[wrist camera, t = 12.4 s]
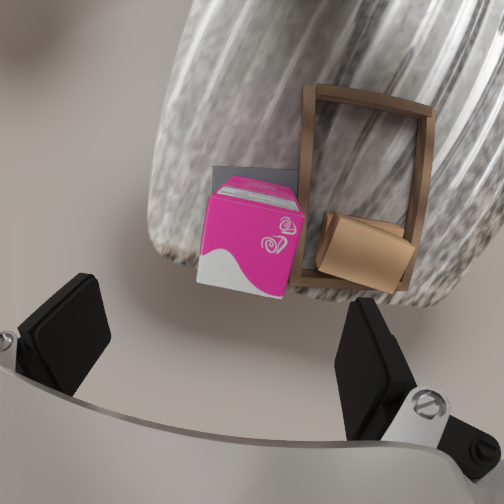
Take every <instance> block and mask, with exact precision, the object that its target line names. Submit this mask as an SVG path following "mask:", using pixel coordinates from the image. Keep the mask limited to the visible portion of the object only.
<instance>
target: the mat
mask: <svg viewBox="0 0 504 504" xmlns="http://www.w3.org/2000/svg"><path fill="white" fill-rule="evenodd" d="M233 175H238V176H243V177H248V178H253V179H258V180H262V181H267V182H271V183H275V184H280V185H284V186H288V187H291V189H292V191H293V193H294V195H295V198H297V185H298V170H287V169H272V168H254V167H230V166H213V186H212V193H214V192H215V191H216V190H217V189H218V188H219V187H221V186H222V185H223V184H224V183H225V182H226V181H227V180H229V179H230V178H231V177H232V176H233Z"/></svg>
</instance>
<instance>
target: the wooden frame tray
mask: <svg viewBox="0 0 504 504" xmlns="http://www.w3.org/2000/svg"><path fill="white" fill-rule="evenodd" d="M315 100H322V101H330V102H337V103H344V104H351V105H357V106H363V107H368V108H374V109H379V110H384V111H388V112H393V113H397V114H402V115H406V116H410V117H414V118H418V126H417V143H416V155H415V165H414V175H413V183H412V190H411V198H410V204H409V211H408V217H407V222H406V228H405V233H404V238H403V239H405V240H407V241H408V242H409V243H410V244H411V245H413V246H414V247H415V250H414V252H413V254H412V256H411V259H410V261H409V263H408V265H407V267H406V269H405V271H404V273H403V275H402V277H401V279H400V281H399V283H398V285H397V287H396V289H395V290H394V291H407V290H408V287H409V283H410V280H411V276H412V272H413V268H414V264H415V260H416V256H417V252H418V247H419V243H420V238H421V233H422V228H423V223H424V218H425V212H426V206H427V200H428V193H429V186H430V179H431V170H432V161H433V149H434V135H435V110H433V109H432V107H430V106H427V105H424V104H420V103H417V102H413V101H409V100H405V99H401V98H397V97H393V96H389V95H384V94H380V93H375V92H370V91H365V90H359V89H353V88H347V87H341V86H334V85H327V84H319V83H317V85H316V86H315V85H306V84H304V86H303V89H302V112H301V132H300V150H299V165H298V185H297V198H296V199H297V201H298V203H299V206H300V208H301V210H302V212H303V214H304V216H305V219H304V223H303V227H302V230H301V234H300V238H299V242H298V245H297V249H296V253H295V257H294V260H293V264H292V268H291V271H290V275H289V285H290V286H303V287H321V288H340V289H361V290H377V289H374V288H371V287H368V286H365V285H362V284H359V283H355V282H352V281H349V280H346V279H343V278H340V277H337V276H334V275H331V274H327V273H324V272H321V271H319V270H311V269H302V263H303V254H304V245H305V236H306V226H307V216H308V205H309V194H310V182H311V169H312V155H313V140H314V122H315Z"/></svg>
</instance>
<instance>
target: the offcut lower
mask: <svg viewBox="0 0 504 504" xmlns="http://www.w3.org/2000/svg"><path fill="white" fill-rule="evenodd" d="M333 214H334V213H331V212H325V213H324V218H323V224H322V229H321V234H320V239H319V245H318V250H317V254H318V251H319V249H320V247H321V244H322V242H323V239H324V237H325V234H326V232H327V229H328V227H329V224H330V222H331V219H332V217H333ZM346 216H349V215H346ZM349 217H351V218H354V219H357V220H359V221H362V222H364V223H367V224H369V225H372V226H374V227H377V228H379V229H382V230H384V231H387V232H389V233H392V234H394V235H396V236H399V237H401V238H403V234H404V229H403V228H401V227H400V226H399V225H397V224H393V223H388V222H383V221H377V220H372V219H366V218H361V217H355V216H349ZM316 256H317V255H316Z"/></svg>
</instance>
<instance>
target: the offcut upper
mask: <svg viewBox="0 0 504 504" xmlns="http://www.w3.org/2000/svg"><path fill="white" fill-rule="evenodd" d="M414 250H415V247H414V246H413V245H411V244H410V243H409V242H408V241H407V240H405V239H403V238H401V237H399V236H396V235H394V234H392V233H389V232H387V231H384V230H382V229H379V228H377V227H374V226H372V225H369V224H367V223H364V222H362V221H359V220H357V219H354V218H351V217H349V216H346V215H343V214H341V213H338V212H335V211H334V214H333V217H332V219H331V222H330V224H329V227H328V229H327V232H326V234H325V237H324V239H323V242H322V244H321V247H320V249H319V251H318V254H317V256H316V259H315V261H316V264H317V267H318V270H319V271H321V272H324V273H327V274H331V275H334V276H337V277H340V278H343V279H346V280H349V281H352V282H355V283H359V284H362V285H365V286H368V287H371V288H374V289H377V290H380V291H383V292H387V293H390V294H393V292H394V290H395V289H396V287H397V285H398V283H399V281H400V279H401V277H402V275H403V273H404V271H405V269H406V267H407V265H408V263H409V261H410V259H411V256H412V254H413V252H414Z"/></svg>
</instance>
